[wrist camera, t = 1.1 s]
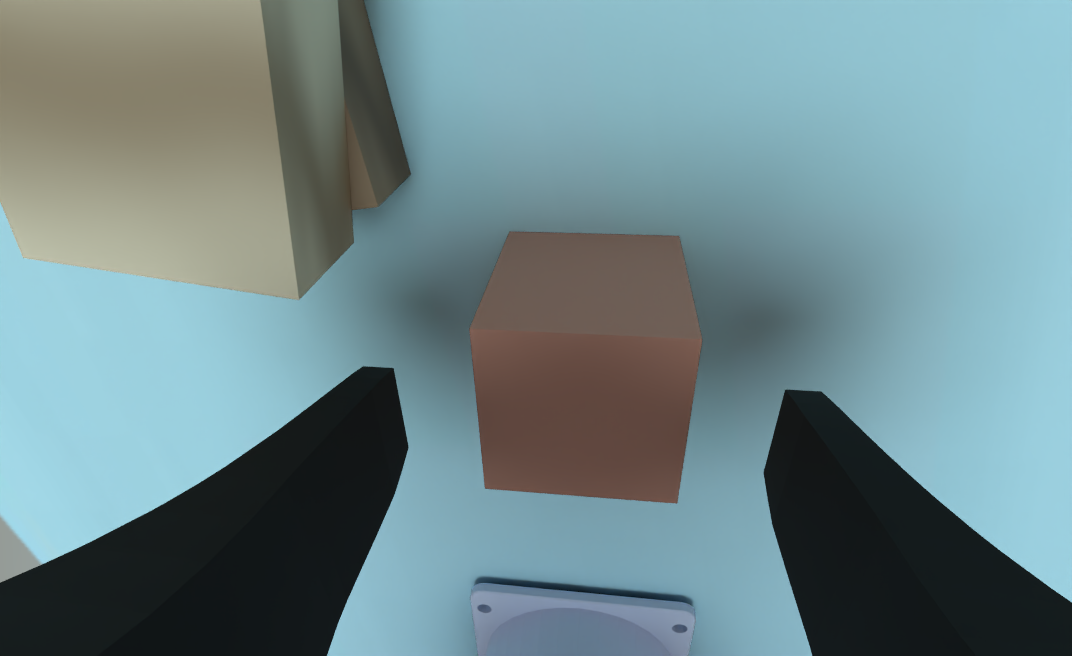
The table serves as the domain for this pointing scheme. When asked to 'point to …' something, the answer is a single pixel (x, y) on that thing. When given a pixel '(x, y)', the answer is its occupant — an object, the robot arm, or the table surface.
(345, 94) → the tower base
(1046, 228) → the table surface
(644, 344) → the block
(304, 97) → the tower top
